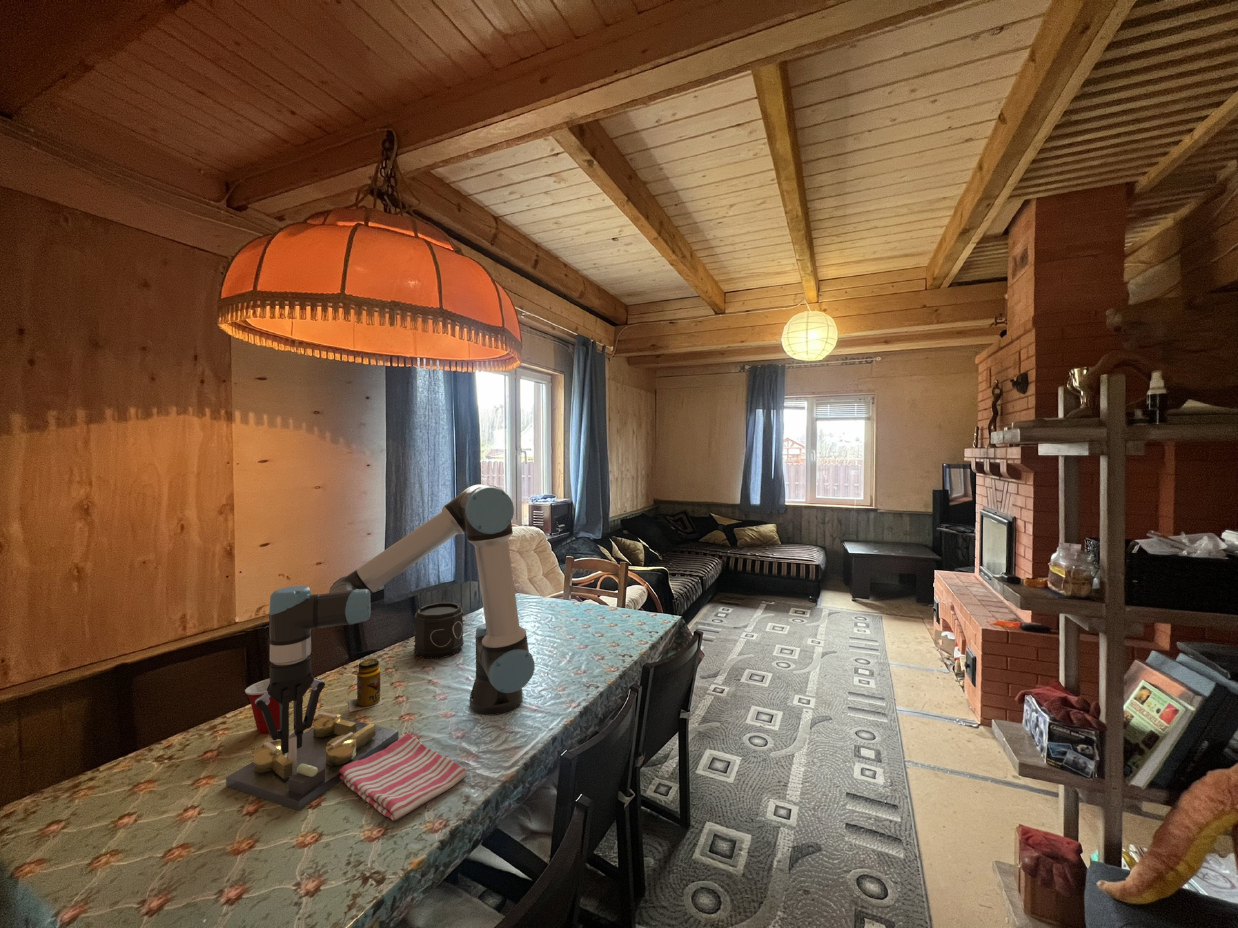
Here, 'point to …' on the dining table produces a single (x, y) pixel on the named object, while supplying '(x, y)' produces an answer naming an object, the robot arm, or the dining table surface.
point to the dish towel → (401, 777)
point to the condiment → (367, 686)
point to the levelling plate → (310, 753)
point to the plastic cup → (274, 707)
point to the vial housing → (306, 778)
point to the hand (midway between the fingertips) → (291, 764)
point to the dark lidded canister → (438, 630)
